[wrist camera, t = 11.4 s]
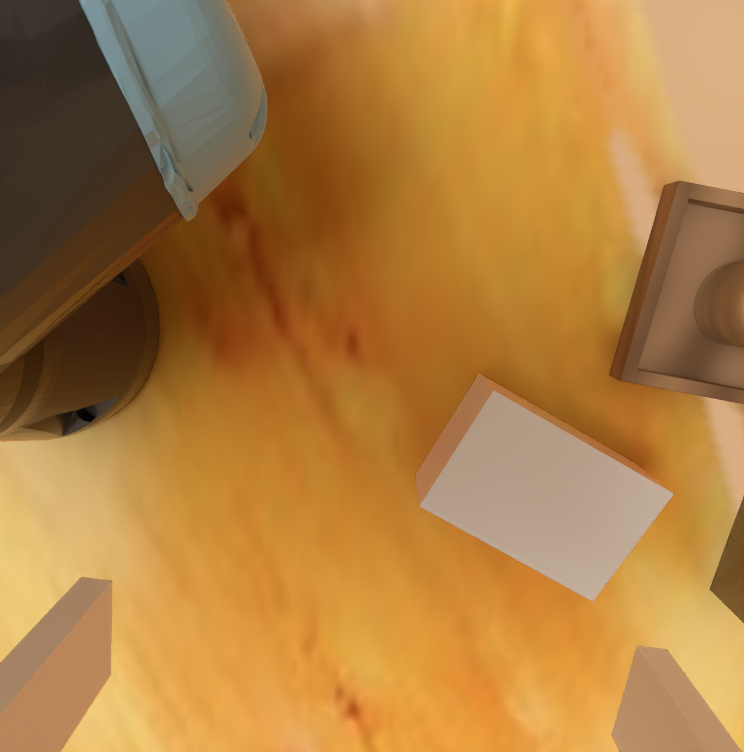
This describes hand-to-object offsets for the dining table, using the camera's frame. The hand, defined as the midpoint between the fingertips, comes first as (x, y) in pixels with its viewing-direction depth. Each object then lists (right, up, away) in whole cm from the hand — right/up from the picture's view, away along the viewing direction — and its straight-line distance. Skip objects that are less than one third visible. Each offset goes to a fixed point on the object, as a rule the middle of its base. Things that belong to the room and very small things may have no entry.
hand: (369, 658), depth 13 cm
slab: (+10, +1, +21) cm, 24 cm away
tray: (+22, +12, +19) cm, 31 cm away
